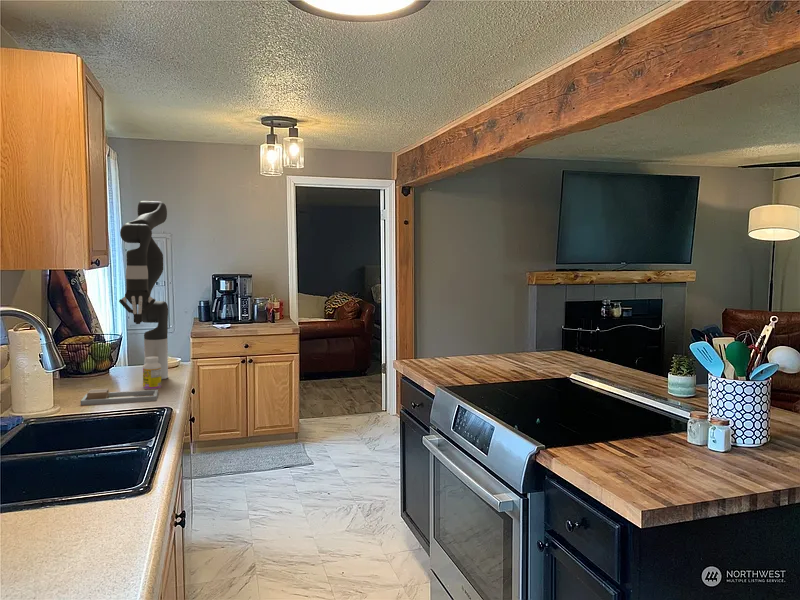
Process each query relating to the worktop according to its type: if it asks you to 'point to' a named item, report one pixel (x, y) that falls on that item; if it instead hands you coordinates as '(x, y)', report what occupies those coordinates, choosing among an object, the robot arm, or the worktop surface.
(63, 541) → the worktop surface
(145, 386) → the supplement bottle
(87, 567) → the worktop surface
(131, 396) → the tray
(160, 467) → the worktop surface
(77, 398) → the worktop surface
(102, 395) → the block
